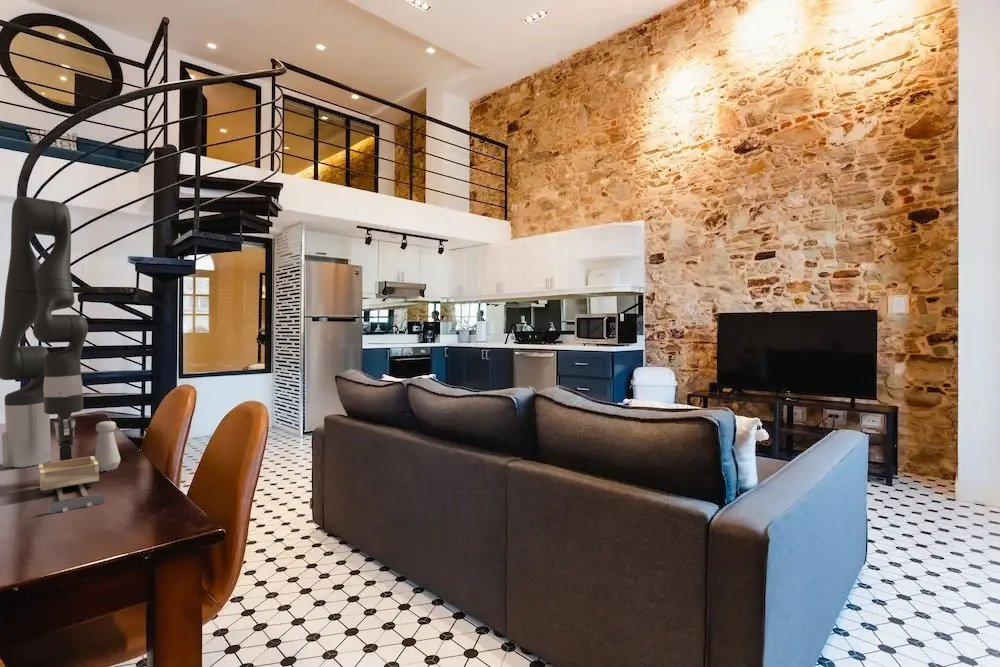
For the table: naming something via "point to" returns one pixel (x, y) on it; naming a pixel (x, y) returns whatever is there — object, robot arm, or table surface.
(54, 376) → the robot arm
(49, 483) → the wooden tray
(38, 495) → the table surface
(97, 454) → the salt shaker
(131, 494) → the table surface
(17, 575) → the table surface
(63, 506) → the rail
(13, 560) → the table surface
